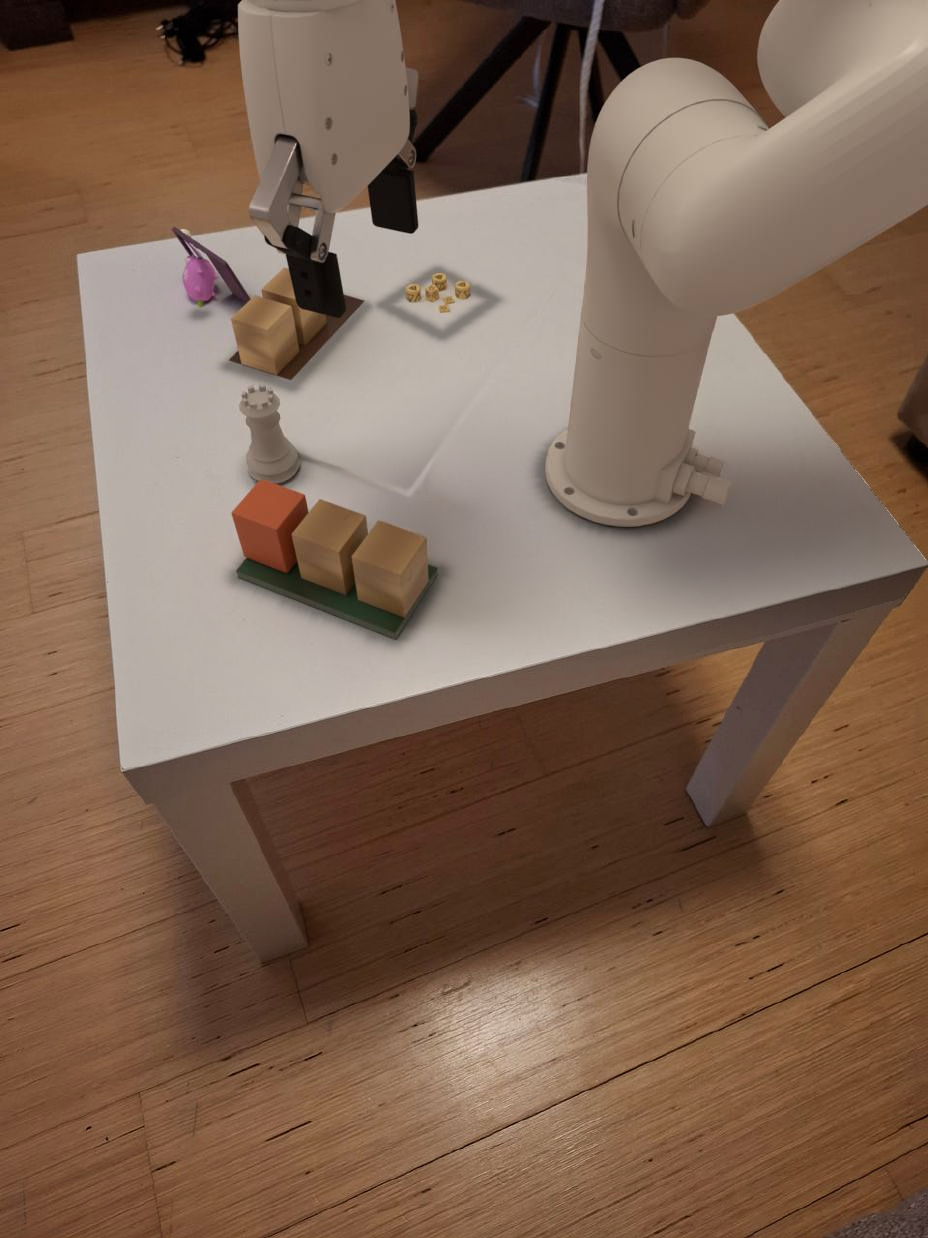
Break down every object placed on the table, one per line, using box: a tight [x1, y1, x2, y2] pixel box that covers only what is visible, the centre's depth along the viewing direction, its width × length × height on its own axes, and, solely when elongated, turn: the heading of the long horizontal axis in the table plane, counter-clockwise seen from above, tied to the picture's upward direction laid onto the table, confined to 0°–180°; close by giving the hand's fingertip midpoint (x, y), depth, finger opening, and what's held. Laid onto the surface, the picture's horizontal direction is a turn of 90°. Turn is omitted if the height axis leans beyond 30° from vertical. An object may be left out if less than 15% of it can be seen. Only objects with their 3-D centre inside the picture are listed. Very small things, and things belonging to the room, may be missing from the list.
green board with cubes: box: [235, 498, 439, 640], centre depth 69 cm, size 14×7×6 cm, turn 64°
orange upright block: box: [230, 479, 310, 573], centre depth 70 cm, size 4×4×5 cm
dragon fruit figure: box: [171, 226, 252, 309], centre depth 91 cm, size 7×5×9 cm
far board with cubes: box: [228, 267, 365, 381], centre depth 87 cm, size 7×14×6 cm, turn 154°
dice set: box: [405, 272, 471, 314], centre depth 92 cm, size 5×5×2 cm
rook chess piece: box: [238, 383, 301, 485], centre depth 75 cm, size 4×4×8 cm
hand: (360, 267), depth 58 cm, fingers open, 9 cm apart
